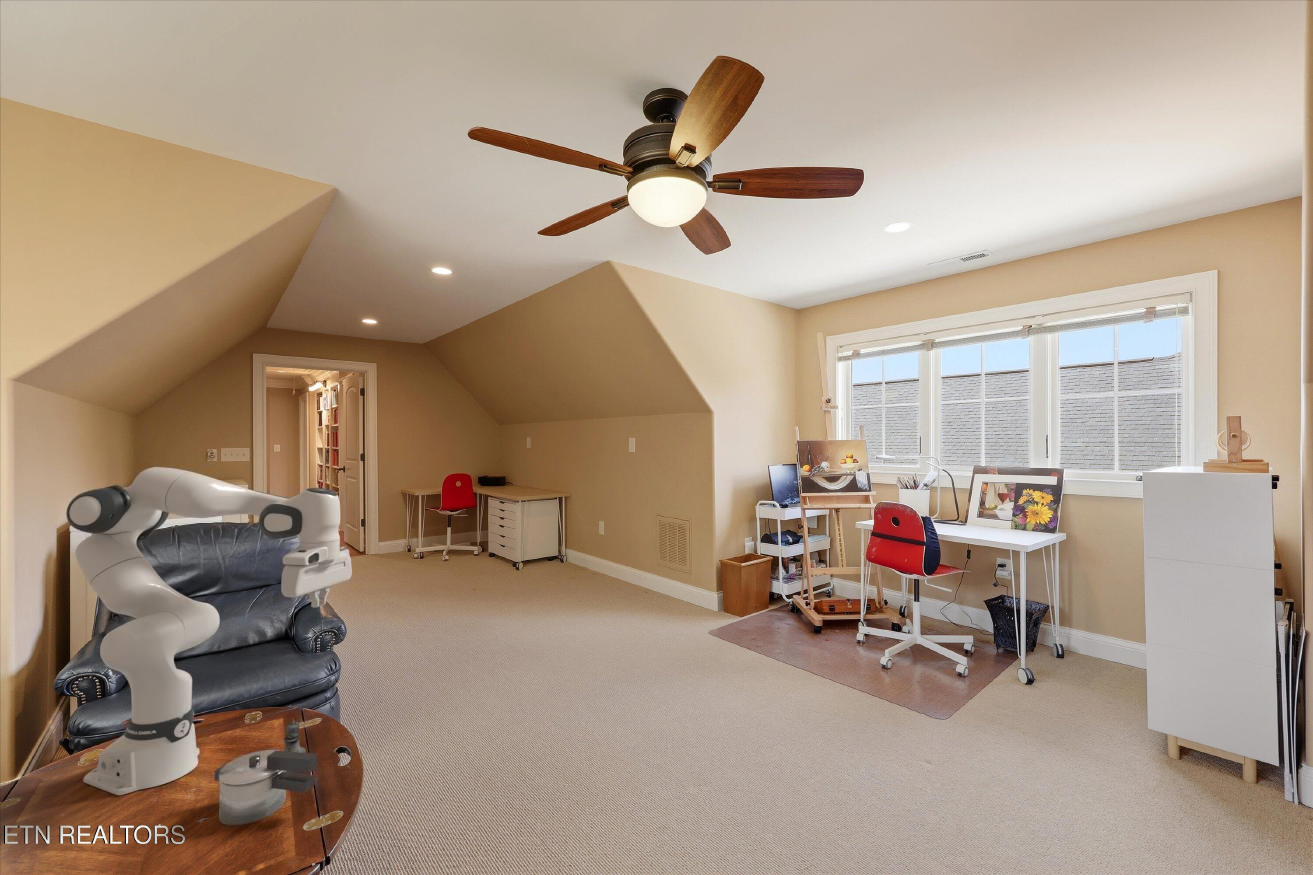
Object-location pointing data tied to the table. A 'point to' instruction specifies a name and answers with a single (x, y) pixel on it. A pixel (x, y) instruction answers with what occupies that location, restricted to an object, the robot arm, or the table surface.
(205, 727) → the table surface
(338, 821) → the table surface
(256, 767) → the lid
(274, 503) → the robot arm
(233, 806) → the pot
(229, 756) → the table surface
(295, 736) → the grey round vessel
